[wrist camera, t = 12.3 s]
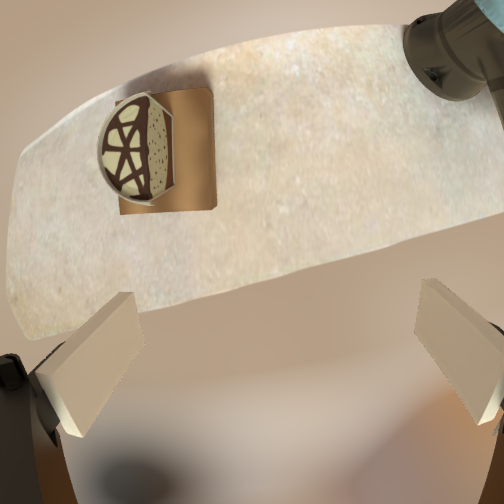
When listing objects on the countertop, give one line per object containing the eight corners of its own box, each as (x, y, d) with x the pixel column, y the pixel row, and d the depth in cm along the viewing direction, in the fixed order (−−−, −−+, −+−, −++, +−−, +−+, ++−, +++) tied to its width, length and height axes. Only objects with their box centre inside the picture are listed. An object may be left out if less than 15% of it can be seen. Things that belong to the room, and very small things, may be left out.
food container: (130, 111, 35) (92, 97, 26) (173, 104, 35) (144, 86, 26) (132, 200, 39) (95, 211, 29) (175, 198, 38) (147, 208, 29)
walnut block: (213, 95, 39) (206, 87, 34) (217, 205, 43) (211, 210, 39) (130, 107, 40) (115, 101, 35) (134, 209, 44) (120, 214, 39)
